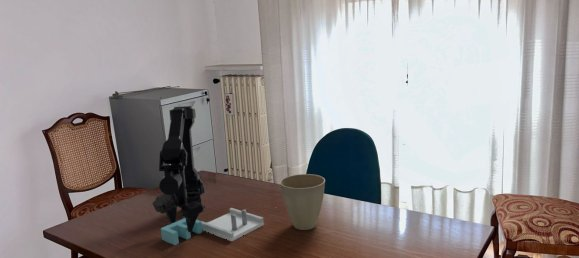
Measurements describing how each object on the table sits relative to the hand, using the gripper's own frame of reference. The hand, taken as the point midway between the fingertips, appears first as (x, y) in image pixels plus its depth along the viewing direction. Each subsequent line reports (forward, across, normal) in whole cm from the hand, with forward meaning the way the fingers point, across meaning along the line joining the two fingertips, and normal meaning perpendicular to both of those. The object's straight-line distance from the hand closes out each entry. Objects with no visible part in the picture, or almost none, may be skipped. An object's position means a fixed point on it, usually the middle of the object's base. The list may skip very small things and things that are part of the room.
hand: (181, 228), depth 150 cm
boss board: (+3, +9, +14) cm, 17 cm away
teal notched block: (+3, 0, 0) cm, 3 cm away
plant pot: (+3, +29, +29) cm, 41 cm away
